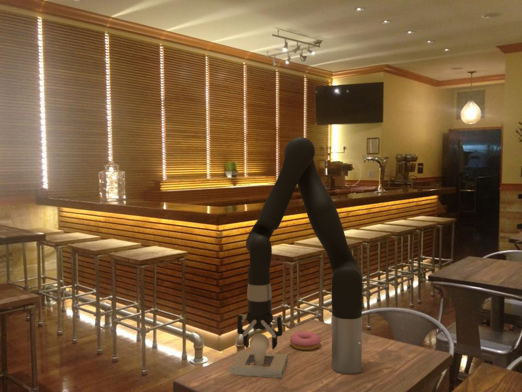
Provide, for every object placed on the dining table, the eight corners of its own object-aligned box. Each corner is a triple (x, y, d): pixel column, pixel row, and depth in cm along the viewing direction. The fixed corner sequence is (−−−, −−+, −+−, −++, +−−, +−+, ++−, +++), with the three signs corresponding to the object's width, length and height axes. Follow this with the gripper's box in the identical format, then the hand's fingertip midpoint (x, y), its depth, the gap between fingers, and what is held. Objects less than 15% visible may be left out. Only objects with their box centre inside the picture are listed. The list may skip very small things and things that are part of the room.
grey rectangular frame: (287, 362, 155) (287, 354, 155) (281, 378, 144) (281, 370, 144) (239, 358, 159) (239, 351, 158) (230, 374, 147) (230, 366, 147)
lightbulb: (246, 369, 150) (246, 335, 149) (255, 362, 155) (255, 329, 155) (263, 373, 147) (263, 338, 146) (272, 366, 152) (272, 332, 152)
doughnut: (300, 354, 162) (300, 342, 162) (284, 343, 172) (284, 332, 171) (326, 348, 167) (326, 336, 167) (309, 338, 177) (309, 327, 176)
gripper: (283, 294, 151) (284, 344, 153) (240, 293, 154) (241, 341, 155) (280, 301, 144) (281, 353, 145) (234, 299, 147) (235, 350, 148)
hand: (260, 347), depth 150 cm, fingers open, 8 cm apart
